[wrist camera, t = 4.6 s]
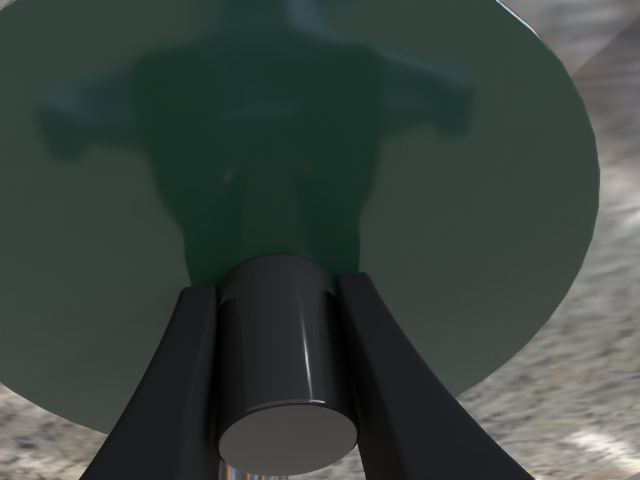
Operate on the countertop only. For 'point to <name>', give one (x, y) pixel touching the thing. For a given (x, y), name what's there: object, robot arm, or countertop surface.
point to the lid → (279, 199)
